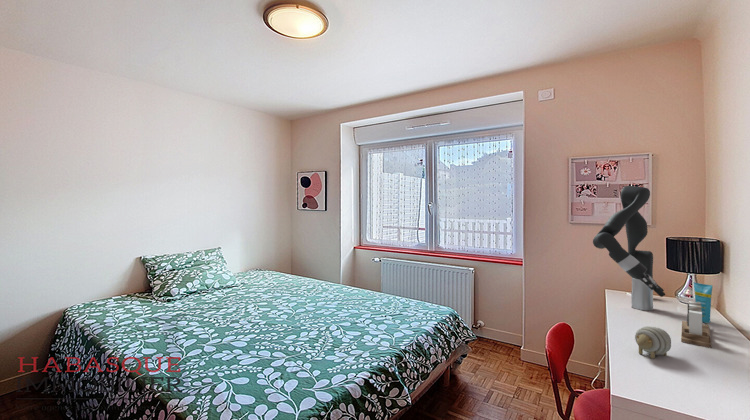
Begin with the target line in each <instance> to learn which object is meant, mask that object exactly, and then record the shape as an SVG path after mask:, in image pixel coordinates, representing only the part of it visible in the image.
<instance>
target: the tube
mask: <svg viewBox="0 0 750 420" xmlns="http://www.w3.org/2000/svg"><path fill="white" fill-rule="evenodd" d="M693 289H694V300H695V301H694V302H700V303H701V312H702V323H704V324H705V323H706V324H710V323H711V310H712V308H711V307H712V295H713V294H712V293H713V285H712V284H707V283H706V284H704V283H699V282H693Z"/></svg>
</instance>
